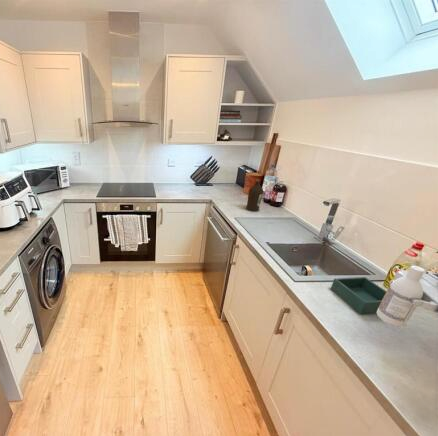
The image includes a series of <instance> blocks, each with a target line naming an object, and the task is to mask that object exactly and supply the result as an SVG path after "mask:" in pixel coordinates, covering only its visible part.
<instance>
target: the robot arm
mask: <svg viewBox="0 0 438 436" xmlns="http://www.w3.org/2000/svg"><path fill="white" fill-rule="evenodd" d="M408 271H409V270H403V269H401V270H398V271H396V273H395V275H394V277H393V279H391V280H390V281H389V283H388V284H389V286H390V285H391V283H392V282H393V281H394V280H396V279H398V278H400V277H403V276H406V274H407V272H408ZM420 283H421V285H422V288H423V295H422V298H421V300H420V299H419V298H411V300H410V302H411V303H412V304H413V305H414V306H417V307H420V308H423V309H426V310H429V311H432V312H433V313H435V315H437V316H438V273H436V272H434V271H428V272H427V273H425V272H424V274H423V276H422V277H421V279H420Z"/></svg>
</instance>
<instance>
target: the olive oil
mask: <svg viewBox="0 0 438 436" xmlns="http://www.w3.org/2000/svg"><path fill="white" fill-rule="evenodd" d="M263 194H264V189H263V187H262V186H261V179H259V178H258V179H256V180H255V183H254V184H253V185H252V186H250V187H249V189H248V193H247V201H246V210H247V211H249V212H258V211H259V210H260V206H261V203H262V199H263Z"/></svg>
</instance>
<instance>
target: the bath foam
mask: <svg viewBox="0 0 438 436" xmlns="http://www.w3.org/2000/svg"><path fill="white" fill-rule="evenodd" d="M407 271H408V272H407V274H406V276H403V277H400V278H398V279H396V280H394V279H393V280H394V281H393V282H392V283H391V285H390V284H389V286H388V288H387V290H386V291H387V292H386V294H385V296H384V298H383V300H382V302H381V304H380V306H379V308H378V310H377V313H376V315H377V317H378V318H379V319H380V320H382V321H383V322H385V323H386V324H389V325H391V326H393V327H399V328H400V327H404V326H406V325H407V323H408V321H409V320H410V318H411V316H412V315H413V313H414V311H415V310H416V308H417V307H418V306H414V305H413V304H412V303H411V302H410V300H411V298H419V299H420V300H421V298H422V295H423V288H422V285H421V283H420V279H421V277H422V276H423V274H424V273H425V272H426V269H424V268H423V267H422V266H418V265H411V266H410V267H409V269H408V270H407Z"/></svg>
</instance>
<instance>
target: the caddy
mask: <svg viewBox="0 0 438 436" xmlns="http://www.w3.org/2000/svg"><path fill="white" fill-rule="evenodd" d="M332 281H333V282H332V283H331V286H330V290H331V291H332V292H333V293H335V294H336V295H337V296H338V297H340V299H342V300H343V301H344V302H345V303H346V304H348V305H349V306H350V307H351V308H353V309H354V311H356V312H357V313H358V314H360V315H364V314H377V310H378V308H379V306H380V304H381V302H382V300H383V298H384V296H385V294H386V292H387V290H385V288H382V287H381V286H379V285H378V284H376V283H375V282H373V281H372V280H370V279H369V278H367V276H359V277H358V276H356V277H339V278H334V279H333V280H332Z"/></svg>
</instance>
